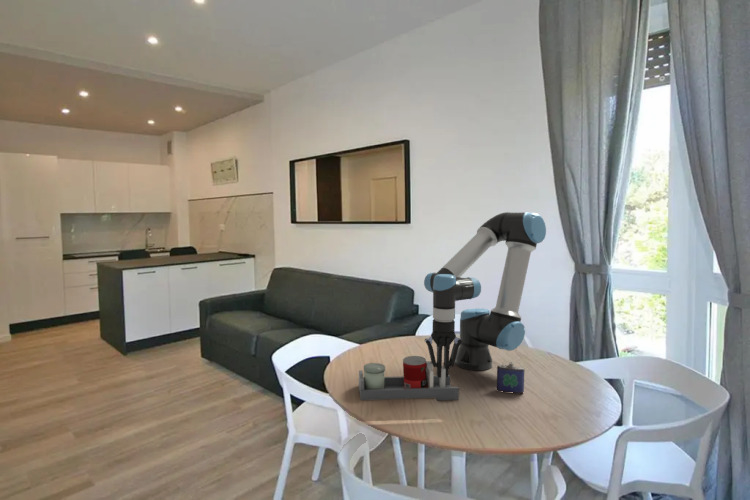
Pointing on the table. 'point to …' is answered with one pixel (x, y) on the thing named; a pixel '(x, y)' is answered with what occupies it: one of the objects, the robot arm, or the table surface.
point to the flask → (510, 378)
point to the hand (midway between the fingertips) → (442, 385)
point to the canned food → (414, 372)
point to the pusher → (429, 374)
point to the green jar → (374, 376)
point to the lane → (408, 390)
